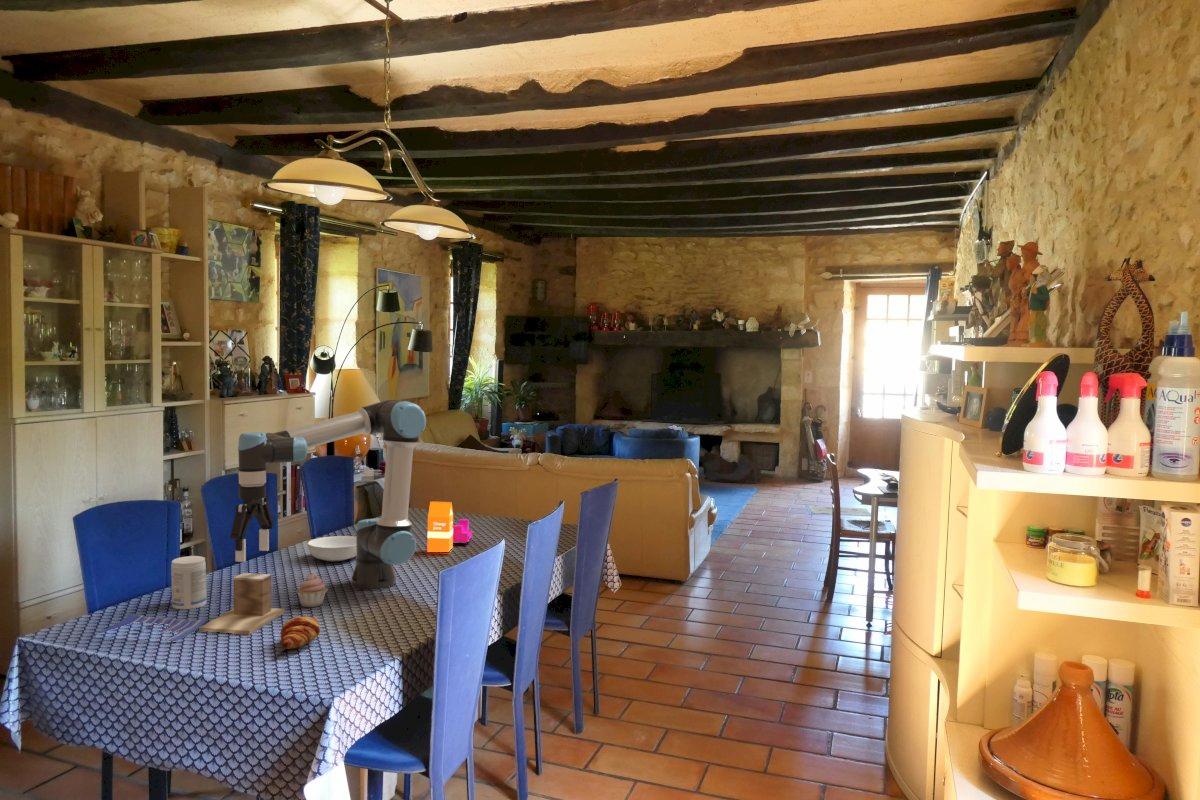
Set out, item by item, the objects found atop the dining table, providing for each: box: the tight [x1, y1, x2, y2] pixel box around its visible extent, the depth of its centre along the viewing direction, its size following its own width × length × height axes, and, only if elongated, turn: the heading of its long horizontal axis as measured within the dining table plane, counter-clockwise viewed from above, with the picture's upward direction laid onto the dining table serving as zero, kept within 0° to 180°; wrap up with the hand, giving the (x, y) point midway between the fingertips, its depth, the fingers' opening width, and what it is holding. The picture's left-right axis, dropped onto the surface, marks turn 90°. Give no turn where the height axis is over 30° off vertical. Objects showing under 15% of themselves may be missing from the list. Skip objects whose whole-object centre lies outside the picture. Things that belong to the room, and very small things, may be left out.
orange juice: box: [426, 501, 454, 552], centre depth 329 cm, size 8×9×20 cm
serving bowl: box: [307, 535, 357, 562], centre depth 313 cm, size 21×21×7 cm
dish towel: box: [98, 613, 209, 641], centre depth 228 cm, size 17×24×3 cm
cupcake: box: [296, 573, 329, 608], centre depth 256 cm, size 9×9×10 cm
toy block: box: [453, 518, 473, 542], centre depth 350 cm, size 15×6×8 cm, turn 177°
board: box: [198, 607, 286, 636], centre depth 238 cm, size 15×20×1 cm
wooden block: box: [233, 572, 272, 616], centre depth 243 cm, size 9×5×11 cm, turn 84°
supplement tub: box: [170, 555, 208, 610], centre depth 251 cm, size 10×10×15 cm
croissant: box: [279, 615, 321, 650], centre depth 223 cm, size 21×10×8 cm
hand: (252, 555), depth 242 cm, fingers open, 12 cm apart
